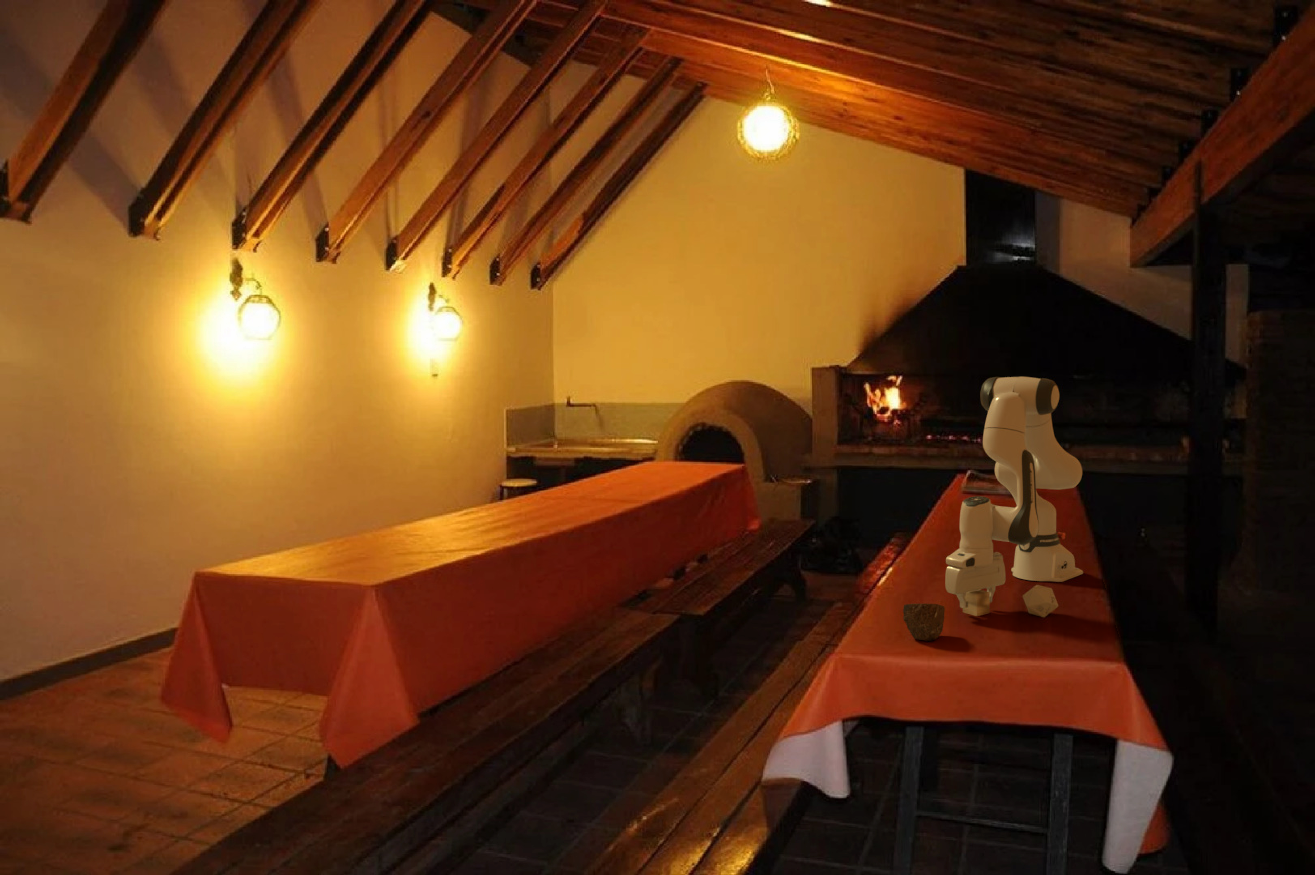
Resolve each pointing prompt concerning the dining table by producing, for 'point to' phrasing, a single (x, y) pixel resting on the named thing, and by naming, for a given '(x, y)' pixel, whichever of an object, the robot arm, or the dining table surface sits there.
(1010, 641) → the dining table surface
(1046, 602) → the die
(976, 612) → the beech block
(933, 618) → the rock
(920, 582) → the dining table surface
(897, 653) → the dining table surface
